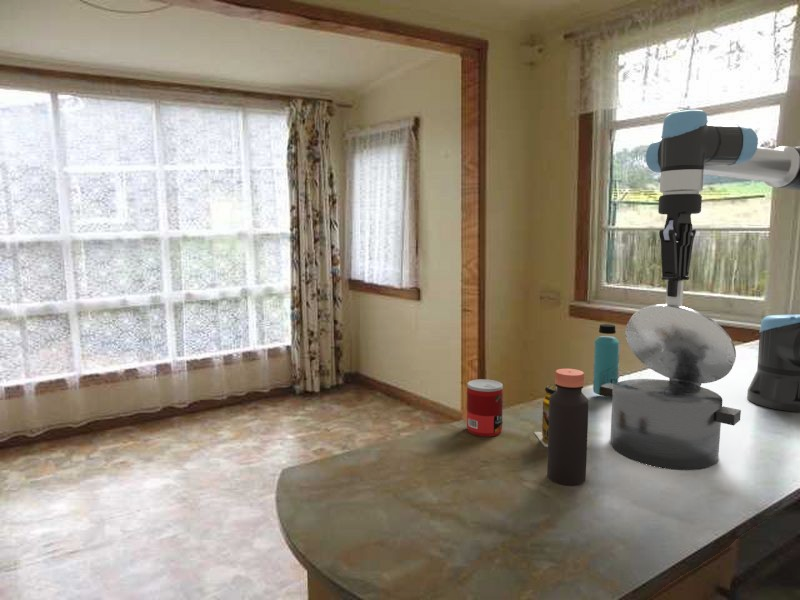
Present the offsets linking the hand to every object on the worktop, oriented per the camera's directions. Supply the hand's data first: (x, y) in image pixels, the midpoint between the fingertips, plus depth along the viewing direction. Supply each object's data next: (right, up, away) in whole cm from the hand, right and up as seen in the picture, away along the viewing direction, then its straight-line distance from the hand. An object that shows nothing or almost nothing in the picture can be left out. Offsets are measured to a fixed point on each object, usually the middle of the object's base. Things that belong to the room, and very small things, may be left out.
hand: (673, 312), depth 108 cm
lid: (+2, -8, +3) cm, 8 cm away
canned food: (-36, -27, +13) cm, 47 cm away
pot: (-1, -28, +2) cm, 28 cm away
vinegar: (-25, -30, -10) cm, 41 cm away
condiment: (-21, -28, +8) cm, 36 cm away
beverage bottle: (0, -24, +36) cm, 43 cm away
